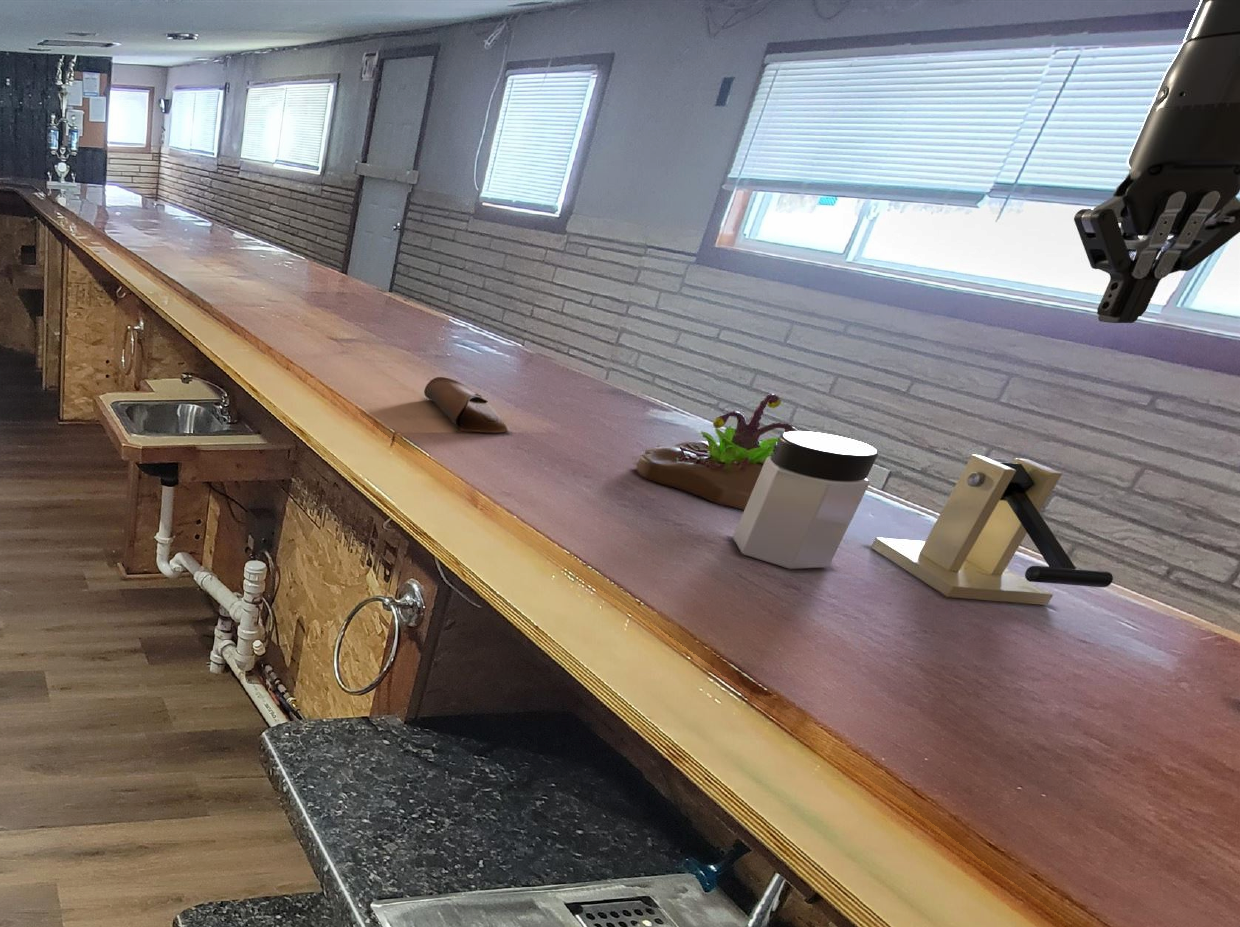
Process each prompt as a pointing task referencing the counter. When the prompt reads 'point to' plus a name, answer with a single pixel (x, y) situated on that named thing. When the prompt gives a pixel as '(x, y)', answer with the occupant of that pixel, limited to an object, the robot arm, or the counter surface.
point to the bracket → (976, 537)
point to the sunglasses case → (464, 406)
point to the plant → (716, 459)
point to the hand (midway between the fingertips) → (1116, 322)
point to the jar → (804, 499)
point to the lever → (1046, 539)
